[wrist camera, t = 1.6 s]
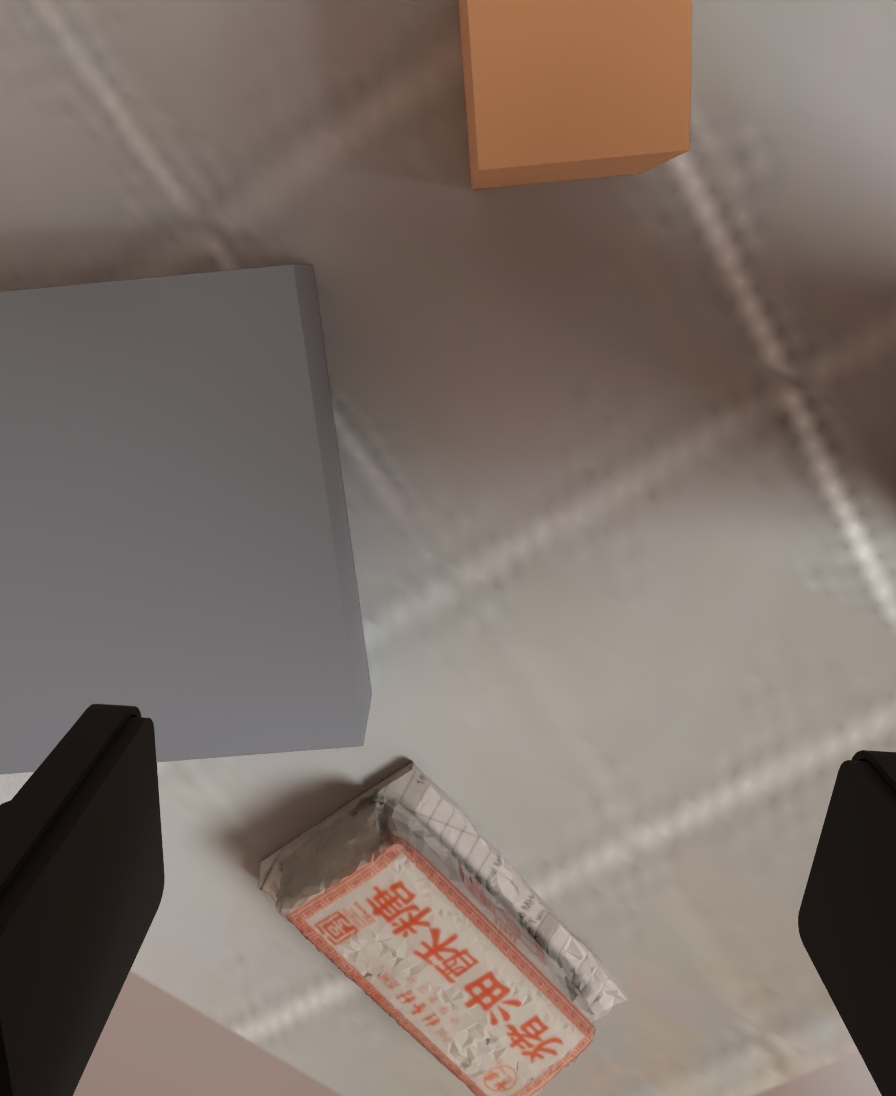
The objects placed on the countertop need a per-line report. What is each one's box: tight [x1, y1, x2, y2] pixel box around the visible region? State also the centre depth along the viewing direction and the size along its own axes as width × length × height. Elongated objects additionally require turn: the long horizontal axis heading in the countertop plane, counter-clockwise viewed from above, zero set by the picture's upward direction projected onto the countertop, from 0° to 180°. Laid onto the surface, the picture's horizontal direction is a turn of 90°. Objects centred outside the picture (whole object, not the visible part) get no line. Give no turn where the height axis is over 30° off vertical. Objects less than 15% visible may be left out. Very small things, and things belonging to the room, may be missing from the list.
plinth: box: [0, 264, 372, 774], centre depth 30 cm, size 18×18×4 cm
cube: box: [458, 0, 692, 190], centre depth 24 cm, size 6×6×6 cm
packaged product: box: [258, 762, 629, 1096], centre depth 38 cm, size 18×5×10 cm
